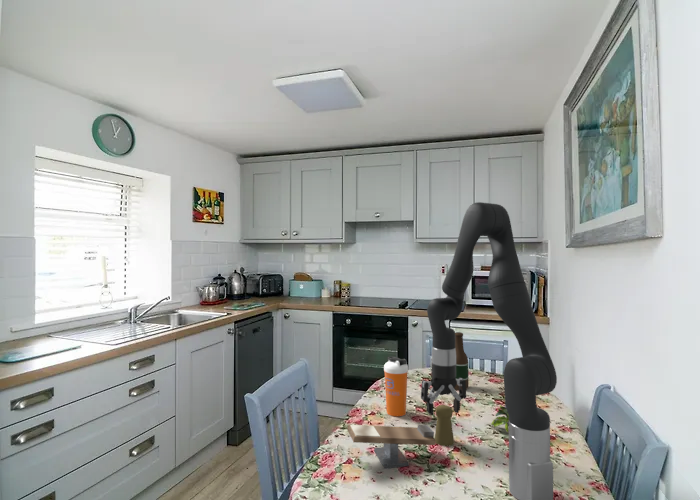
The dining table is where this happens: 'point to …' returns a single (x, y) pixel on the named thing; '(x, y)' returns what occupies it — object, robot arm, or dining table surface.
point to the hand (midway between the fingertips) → (443, 413)
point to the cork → (444, 426)
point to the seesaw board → (392, 434)
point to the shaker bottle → (396, 386)
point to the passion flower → (501, 418)
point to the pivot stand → (391, 456)
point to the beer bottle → (461, 360)
